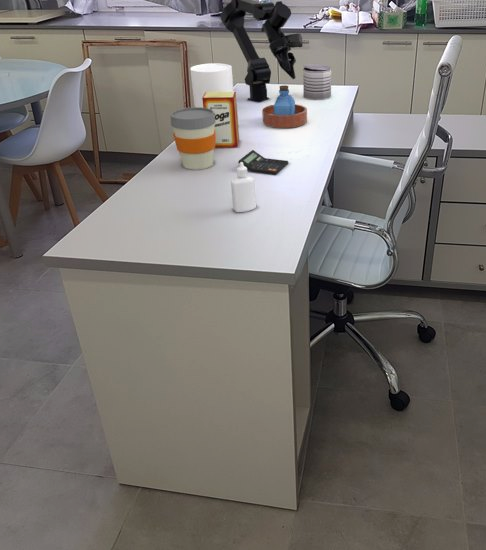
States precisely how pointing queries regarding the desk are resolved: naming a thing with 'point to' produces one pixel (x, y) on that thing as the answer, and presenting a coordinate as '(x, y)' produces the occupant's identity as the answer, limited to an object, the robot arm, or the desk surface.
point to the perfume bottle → (284, 102)
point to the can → (317, 82)
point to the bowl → (284, 117)
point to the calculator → (262, 163)
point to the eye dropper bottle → (243, 191)
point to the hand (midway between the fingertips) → (291, 74)
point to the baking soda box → (223, 117)
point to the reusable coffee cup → (194, 136)
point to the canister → (210, 80)
